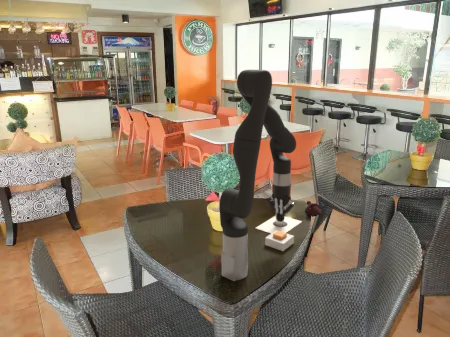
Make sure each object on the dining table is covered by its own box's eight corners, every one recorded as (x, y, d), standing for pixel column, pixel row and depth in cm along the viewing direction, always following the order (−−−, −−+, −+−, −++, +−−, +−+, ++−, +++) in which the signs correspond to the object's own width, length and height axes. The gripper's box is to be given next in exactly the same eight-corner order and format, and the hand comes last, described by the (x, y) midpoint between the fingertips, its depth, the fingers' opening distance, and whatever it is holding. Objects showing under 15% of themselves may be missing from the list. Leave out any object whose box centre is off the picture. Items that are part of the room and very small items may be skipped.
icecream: (329, 208, 184) (314, 200, 198) (316, 206, 181) (302, 198, 195) (326, 222, 185) (311, 212, 199) (313, 220, 182) (298, 211, 196)
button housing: (283, 251, 157) (283, 243, 156) (265, 244, 162) (265, 237, 161) (293, 243, 164) (294, 235, 163) (276, 237, 169) (276, 230, 168)
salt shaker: (281, 226, 179) (281, 206, 176) (273, 224, 181) (274, 204, 178) (285, 223, 182) (286, 204, 179) (278, 221, 184) (278, 202, 181)
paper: (280, 236, 169) (280, 236, 169) (255, 228, 178) (255, 227, 178) (302, 222, 184) (302, 221, 184) (277, 214, 193) (277, 214, 192)
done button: (281, 242, 159) (281, 236, 159) (272, 239, 162) (273, 234, 161) (286, 238, 163) (286, 233, 162) (278, 235, 165) (278, 230, 164)
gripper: (262, 181, 156) (262, 219, 161) (291, 188, 148) (289, 228, 153) (272, 177, 162) (271, 214, 167) (300, 183, 153) (298, 222, 159)
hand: (280, 220), depth 160 cm, fingers closed
